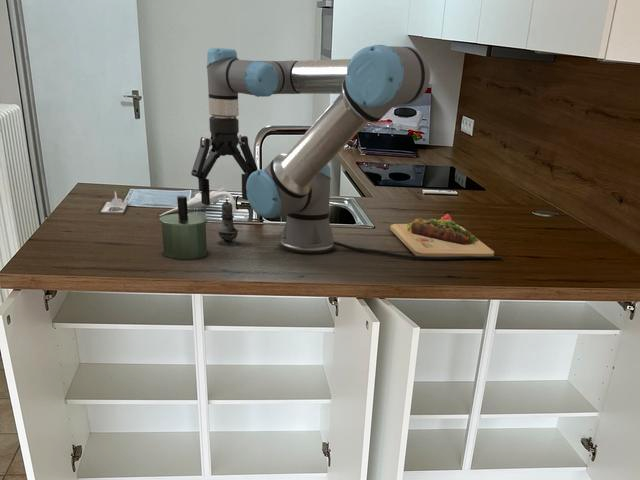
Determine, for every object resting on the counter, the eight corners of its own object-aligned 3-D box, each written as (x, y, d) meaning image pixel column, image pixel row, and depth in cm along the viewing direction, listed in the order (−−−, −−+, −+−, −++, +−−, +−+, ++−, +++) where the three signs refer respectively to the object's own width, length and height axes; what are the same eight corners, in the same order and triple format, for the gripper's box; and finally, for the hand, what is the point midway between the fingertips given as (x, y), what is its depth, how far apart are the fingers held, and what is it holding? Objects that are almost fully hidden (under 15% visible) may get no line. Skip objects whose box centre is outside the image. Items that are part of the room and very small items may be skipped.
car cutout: (107, 203, 246) (105, 188, 243) (127, 203, 247) (126, 189, 245) (100, 213, 233) (98, 198, 231) (122, 213, 234) (121, 198, 232)
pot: (212, 250, 203) (211, 218, 199) (198, 261, 194) (196, 227, 189) (173, 246, 204) (171, 214, 200) (157, 256, 195) (154, 223, 191)
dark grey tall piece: (216, 240, 212) (214, 196, 206) (237, 240, 214) (235, 196, 208) (219, 246, 208) (217, 201, 201) (240, 245, 209) (239, 201, 203)
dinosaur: (161, 232, 251) (166, 235, 236) (152, 206, 247) (156, 208, 233) (231, 210, 255) (240, 212, 241) (223, 184, 251) (231, 184, 237)
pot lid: (213, 220, 199) (212, 194, 196) (197, 230, 189) (196, 203, 186) (170, 216, 201) (168, 190, 197) (152, 226, 191) (149, 198, 187)
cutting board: (388, 229, 236) (390, 204, 233) (458, 230, 241) (461, 206, 237) (416, 259, 207) (419, 231, 203) (496, 259, 212) (500, 232, 208)
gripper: (252, 113, 204) (253, 194, 215) (174, 116, 188) (179, 203, 199) (270, 117, 200) (270, 199, 211) (191, 119, 184) (196, 209, 195)
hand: (226, 201), depth 205 cm, fingers open, 13 cm apart
